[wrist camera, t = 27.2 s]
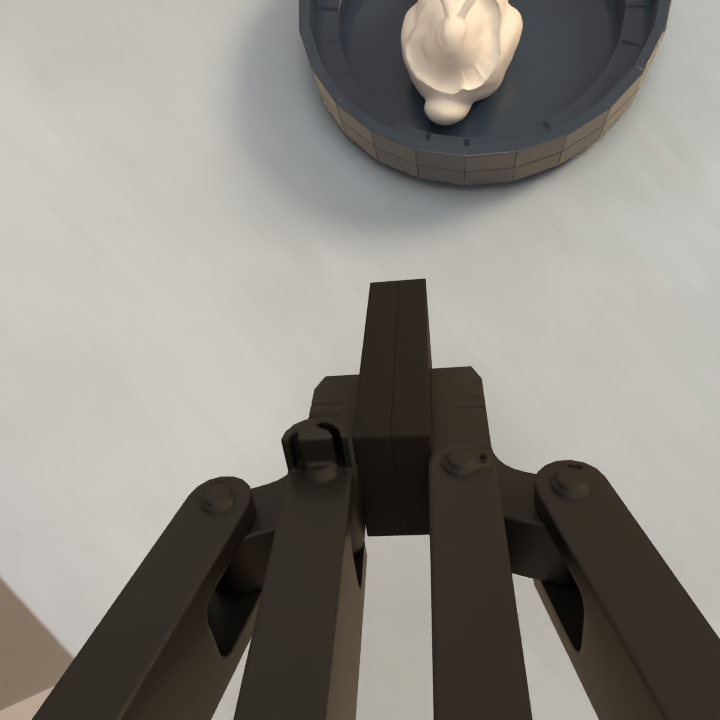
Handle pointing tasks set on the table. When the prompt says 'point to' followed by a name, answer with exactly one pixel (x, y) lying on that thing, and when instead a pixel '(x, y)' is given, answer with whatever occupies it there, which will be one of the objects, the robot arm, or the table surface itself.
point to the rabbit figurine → (458, 52)
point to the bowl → (505, 105)
